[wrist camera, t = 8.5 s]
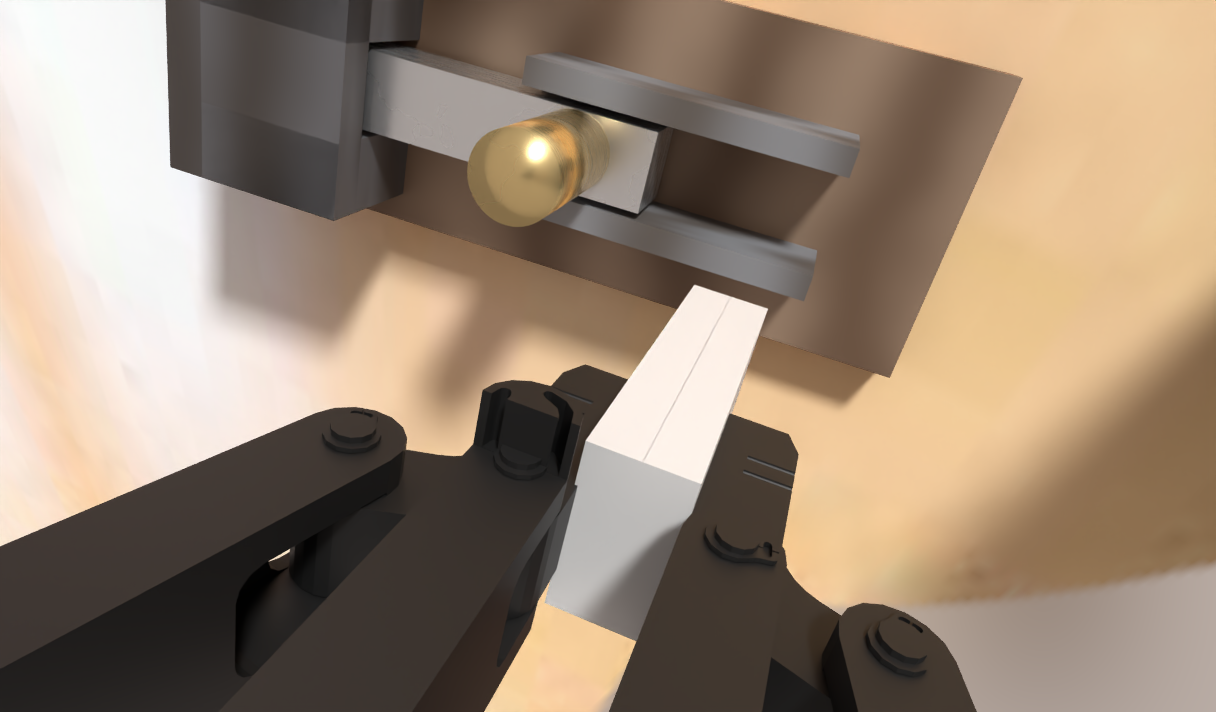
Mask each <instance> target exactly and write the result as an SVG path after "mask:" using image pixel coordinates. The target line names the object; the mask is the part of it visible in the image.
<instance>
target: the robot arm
mask: <svg viewBox="0 0 1216 712" xmlns="http://www.w3.org/2000/svg"><path fill="white" fill-rule="evenodd" d="M767 310H768V309H767V308H764V307H761V306H758V305H755V304H752V303H749V302H746V301H743V300H739V299H736V298H733V297H730V296H727V295H724V294H721V293H718V292H715V291H712V290H709V289H706V288H703V287H700V286H697V285H694V286H693V288H692V289H691V291H690V292H689V293H688V295H687V296H686V298H685V299H684V301H683V302H682V303H681V305H680V306H679V308H678V309H677V311H676V312H675V313H674V315H673V316H672V318H671V319H670V321H669V322H668V323H667V325H666V326H665V328H664V329H663V331H662V332H661V334H660V335H659V336H658V338H657V339H656V341H655V342H654V344H653V345H652V346H651V348H650V349H649V351H648V352H647V354H646V355H645V356H644V358H643V359H642V361H641V362H640V364H639V365H638V366H637V368H636V369H635V371H634V372H633V374H632V375H631V377H630V378H629V379H625V378H622V377H619V376H616V375H614V374H611V373H608V372H605V371H602V370H600V369H597V368H594V367H591V366H588V365H583V366H580V367H577V368H574V369H572V370H569V371H566V372H563V373H562V375H561V376H560V377H559V378H558V379H557V380H556V381H555V382H554V383H553V385H552V386H548V385H544V384H540V383H536V382H532V381H517V380H511V381H505V382H499V383H495V384H493V385H491V386H489V387H487V388H486V389H484V390H483V392H482V397H481V403H480V409H479V415H478V420H477V426H476V432H475V437H474V443H473V445H472V446H471V447H470V448H469V449H468V450H467V451H466V453H465V454H464V455H463V456H444V455H435V454H429V453H423V452H417V451H411V450H406V444H407V437H406V434H405V432H404V429H403V427H402V426H401V425H400V424H399V423H397V422H396V421H395V420H394V419H393V418H392V417H389V416H387V415H384V414H382V413H380V412H377V411H375V410H369V409H364V408H357V407H347V408H333V409H329V410H325V411H322V412H318V413H315V414H313V415H310V416H308V417H305V418H303V419H301V420H298V421H296V422H294V423H291V424H289V425H286V426H284V427H282V428H279V429H277V430H275V431H272V432H270V433H268V434H265V435H263V436H260V437H258V438H256V439H253V440H251V441H249V442H246V443H244V444H242V445H239V446H237V447H234V448H232V449H230V450H227V451H225V452H223V453H220V454H218V455H215V456H213V457H211V458H208V459H206V460H204V461H201V462H199V463H197V464H194V465H192V466H189V467H187V468H185V469H182V470H180V471H178V472H175V473H173V474H171V475H168V476H166V477H163V478H161V479H159V480H156V481H154V482H152V483H149V484H147V485H144V486H142V487H140V488H137V489H135V490H133V491H130V492H128V493H126V494H123V495H121V496H118V497H116V498H114V499H111V500H109V501H107V502H104V503H102V504H100V505H97V506H95V507H92V508H90V509H88V510H85V511H83V512H81V513H78V514H76V515H73V516H71V517H69V518H66V519H64V520H62V521H59V522H57V523H55V524H52V525H50V526H47V527H45V528H43V529H40V530H38V531H36V532H33V533H31V534H29V535H26V536H24V537H21V538H19V539H17V540H14V541H12V542H10V543H7V544H5V545H2V546H0V712H484V711H485V709H486V707H487V706H488V704H489V702H490V700H491V699H492V697H493V695H494V693H495V692H496V690H497V688H498V686H499V684H500V683H501V681H502V679H503V677H504V676H505V674H506V672H507V670H508V669H509V667H510V665H511V663H512V662H513V660H514V658H515V656H516V654H517V653H518V651H519V649H520V647H521V646H522V644H523V642H524V640H525V639H526V637H527V635H528V633H529V631H530V630H531V626H532V622H533V618H534V615H535V611H536V606H537V602H538V600H539V598H540V597H541V595H542V593H543V592H544V590H545V588H546V586H547V585H548V583H549V581H550V584H549V588H548V592H547V596H546V600H545V603H546V604H549V605H551V606H554V607H556V608H558V609H561V610H563V611H566V612H568V613H570V614H573V615H575V616H577V617H580V618H582V619H585V620H587V621H589V622H592V623H594V624H597V625H599V626H601V627H604V628H606V629H608V630H611V631H613V632H616V633H618V634H620V635H623V636H625V637H628V638H630V639H632V640H635V641H636V644H635V647H634V649H633V652H632V654H631V657H630V659H629V662H628V664H627V667H626V670H625V672H624V675H623V677H622V680H621V682H620V685H619V687H618V690H617V692H616V695H615V698H614V700H613V703H612V705H611V708H610V710H609V712H977V711H976V709H975V707H974V704H973V702H972V699H971V697H970V695H969V692H968V690H967V687H966V685H965V682H964V680H963V678H962V675H961V673H960V670H959V668H958V665H957V663H956V661H955V659H954V658H953V656H952V655H951V653H950V651H949V650H948V648H947V647H946V645H945V643H944V642H943V641H941V639H940V638H939V637H938V636H936V635H935V634H934V633H933V632H932V631H931V630H930V629H929V628H928V627H927V626H926V625H924V624H922V623H921V622H919V621H918V620H916V619H915V618H913V617H911V616H910V615H908V614H906V613H905V612H902V611H899V610H896V609H894V608H891V607H888V606H885V605H880V604H868V603H862V604H859V605H855V606H852V607H849V608H847V610H846V611H845V612H844V613H843V615H842V616H841V615H839V614H838V613H836V612H835V611H833V610H832V609H830V608H829V607H827V606H826V605H824V604H822V603H821V602H819V601H818V600H817V599H815V598H814V597H813V596H812V595H810V594H809V593H808V592H806V591H805V590H804V589H803V588H802V587H801V586H800V585H799V584H798V583H797V582H796V581H795V580H794V578H793V577H792V575H791V574H790V572H789V571H788V569H787V568H786V567H787V562H786V555H785V550H784V548H783V547H782V544H783V538H784V532H785V527H786V521H787V516H788V510H789V505H790V499H791V493H792V491H791V490H792V488H793V482H794V477H795V476H794V475H795V471H796V466H797V460H798V452H797V450H796V448H795V446H794V444H793V442H792V440H791V438H790V436H789V434H786V433H783V432H781V431H778V430H775V429H772V428H769V427H767V426H764V425H761V424H758V423H755V422H752V421H750V420H747V419H744V418H741V417H738V416H736V415H733V414H732V411H733V408H734V405H735V403H736V400H737V397H738V394H739V391H740V388H741V385H742V382H743V380H744V377H745V374H746V371H747V368H748V365H749V362H750V359H751V356H752V354H753V351H754V348H755V345H756V342H757V339H758V336H759V333H760V331H761V328H762V325H763V322H764V319H765V316H766V313H767ZM288 549H290V552H289V553H287V554H285V555H284V556H282V557H280V558H278V559H275V560H273V561H270V562H268V561H269V560H271V559H273V558H275V557H276V556H278V555H280V554H282V553H283V552H285V551H287V550H288Z"/></svg>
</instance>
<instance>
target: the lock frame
mask: <svg viewBox="0 0 1216 712" xmlns="http://www.w3.org/2000/svg"><path fill="white" fill-rule="evenodd" d="M166 30H167V64H168V98H169V132H170V166H171V167H172V168H175V169H178V170H181V171H184V172H187V173H190V174H193V175H196V176H199V177H202V178H205V179H208V180H211V181H214V182H217V183H220V184H224V185H227V186H230V187H233V188H236V189H239V190H242V191H245V192H248V193H251V194H254V195H257V196H260V197H263V198H266V199H269V200H272V201H275V202H278V203H281V204H284V205H287V206H290V207H293V208H296V209H299V210H302V211H305V212H308V213H312V214H315V215H318V216H321V217H324V218H327V219H330V220H333V221H335V220H337V219H340V218H342V217H345V216H347V215H350V214H353V213H355V212H358V211H360V210H363V209H365V208H367V209H370V210H374V211H377V212H380V213H383V214H386V215H389V216H392V217H395V218H398V219H401V220H404V221H407V222H411V223H414V224H417V225H420V226H423V227H426V228H429V229H432V230H435V231H438V232H441V233H444V234H448V235H451V236H454V237H457V238H460V239H463V240H466V241H469V242H472V243H475V244H478V245H481V246H485V247H488V248H491V249H494V250H497V251H500V252H503V253H506V254H509V255H512V256H515V257H518V258H522V259H525V260H528V261H531V262H534V263H537V264H540V265H543V266H546V267H549V268H552V269H555V270H559V271H562V272H565V273H568V274H571V275H574V276H577V277H580V278H583V279H586V280H589V281H592V282H596V283H599V284H602V285H605V286H608V287H611V288H614V289H617V290H620V291H623V292H626V293H629V294H633V295H636V296H639V297H642V298H645V299H648V300H651V301H654V302H657V303H660V304H663V305H667V306H670V307H673V308H676V309H678V308H679V306H680V305H681V303H682V302H683V301H684V299H685V298H686V296H687V295H688V293H689V292H690V291H691V289H692V288H693V286H694V285H697V286H700V287H703V288H706V289H709V290H712V291H715V292H718V293H721V294H724V295H727V296H730V297H733V298H736V299H739V300H743V301H746V302H749V303H752V304H755V305H758V306H761V307H764V308H767V309H768V310H767V313H766V316H765V319H764V322H763V325H762V328H761V331H760V333H759V336H762V337H765V338H768V339H771V340H774V341H778V342H781V343H784V344H787V345H790V346H793V347H796V348H799V349H802V350H805V351H808V352H811V353H815V354H818V355H821V356H824V357H827V358H830V359H833V360H836V361H839V362H842V363H845V364H848V365H852V366H855V367H858V368H861V369H864V370H867V371H870V372H873V373H876V374H879V375H882V376H885V377H889V378H890V376H891V374H892V371H893V369H894V367H895V365H896V362H897V360H898V358H899V356H900V353H901V351H902V349H903V347H904V344H905V342H906V340H907V338H908V335H909V333H910V331H911V329H912V326H913V324H914V322H915V320H916V317H917V315H918V313H919V311H920V308H921V306H922V304H923V302H924V299H925V297H926V295H927V293H928V290H929V288H930V286H931V284H932V281H933V279H934V277H935V275H936V272H937V270H938V268H939V266H940V263H941V261H942V259H943V257H944V254H945V252H946V250H947V248H948V245H949V243H950V241H951V239H952V236H953V234H954V232H955V230H956V227H957V225H958V223H959V221H960V218H961V216H962V214H963V212H964V209H965V207H966V205H967V203H968V200H969V198H970V196H971V193H972V191H973V189H974V187H975V184H976V182H977V180H978V178H979V175H980V173H981V171H982V169H983V166H984V164H985V162H986V160H987V157H988V155H989V153H990V151H991V148H992V146H993V144H994V142H995V139H996V137H997V135H998V133H999V130H1000V128H1001V126H1002V124H1003V121H1004V119H1005V117H1006V115H1007V112H1008V110H1009V108H1010V106H1011V103H1012V101H1013V99H1014V97H1015V94H1016V92H1017V90H1018V88H1019V85H1020V83H1021V81H1022V79H1023V78H1021V77H1019V76H1016V75H1013V74H1009V73H1005V72H1001V71H997V70H994V69H990V68H986V67H982V66H978V65H974V64H970V63H966V62H962V61H958V60H954V59H951V58H947V57H943V56H939V55H935V54H931V53H927V52H923V51H919V50H915V49H912V48H908V47H904V46H900V45H896V44H892V43H888V42H884V41H880V40H876V39H873V38H869V37H865V36H861V35H857V34H853V33H849V32H845V31H841V30H837V29H834V28H830V27H826V26H822V25H818V24H814V23H810V22H806V21H802V20H798V19H795V18H791V17H787V16H783V15H779V14H775V13H771V12H767V11H763V10H759V9H756V8H752V7H748V6H744V5H740V4H736V3H732V2H728V1H724V0H166ZM387 41H390V42H394V43H397V44H401V45H404V46H408V47H411V48H415V49H418V50H422V51H425V52H429V53H432V54H436V55H439V56H443V57H446V58H450V59H453V60H457V61H461V62H464V63H468V64H471V65H475V66H478V67H482V68H485V69H489V70H492V71H496V72H499V73H503V74H506V75H510V76H513V77H517V78H520V79H522V85H525V86H529V87H532V88H536V89H539V90H543V91H546V92H549V93H553V94H556V95H560V96H563V97H567V98H570V99H574V100H577V101H581V102H584V103H588V104H591V105H595V106H598V107H602V108H605V109H609V110H612V111H616V112H619V113H623V114H626V115H630V116H633V117H637V118H640V119H644V120H647V121H651V122H654V123H658V124H661V125H665V126H668V127H672V128H674V130H673V134H672V137H671V141H670V145H669V149H668V153H667V157H666V161H665V165H664V168H663V172H662V176H661V180H660V184H659V188H658V192H657V196H656V198H655V199H654V200H653V201H651V202H650V203H649V204H648V205H647V206H646V207H645V208H644V209H643V210H642V211H640V212H639V213H638V214H637V213H634V212H630V211H627V210H624V209H620V208H617V207H614V206H611V205H607V204H604V203H601V202H598V201H594V200H591V199H588V198H585V197H581V196H577V197H576V198H574V199H573V200H571V201H569V202H568V203H566V204H565V205H563V206H562V207H560V208H559V209H557V210H555V211H554V212H552V213H551V214H549V215H548V216H546V217H545V218H543V219H541V220H540V221H538V222H536V223H534V224H532V225H529V226H524V227H512V226H507V225H503V224H501V223H498V222H497V221H495V220H493V219H492V218H490V217H489V216H488V215H487V214H485V213H484V212H483V211H482V209H481V208H480V207H479V206H478V204H477V203H476V201H475V200H474V198H473V196H472V193H471V191H470V188H469V184H468V178H467V167H468V162H467V161H464V160H461V159H457V158H454V157H451V156H448V155H444V154H441V153H438V152H435V151H431V150H428V149H425V148H422V147H418V146H415V145H412V144H409V143H405V142H402V141H399V140H395V139H392V138H389V137H386V136H382V135H379V134H376V133H373V132H369V131H366V130H363V129H362V124H363V112H364V99H365V87H366V75H367V62H368V50H369V42H387Z"/></svg>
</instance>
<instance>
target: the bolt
mask: <svg viewBox="0 0 1216 712" xmlns="http://www.w3.org/2000/svg"><path fill="white" fill-rule="evenodd" d="M362 129H363V130H366V131H369V132H373V133H376V134H379V135H382V136H386V137H389V138H392V139H395V140H399V141H402V142H405V143H409V144H412V145H415V146H418V147H422V148H425V149H428V150H431V151H435V152H438V153H441V154H444V155H448V156H451V157H454V158H457V159H461V160H464V161H467V162H468V167H467V178H468V184H469V188H470V191H471V193H472V196H473V198H474V200H475V201H476V203H477V204H478V206H479V207H480V208H481V209H482V211H483V212H484V213H485V214H487V215H488V216H489V217H490V218H492V219H493V220H495V221H497V222H498V223H501V224H503V225H507V226H512V227H524V226H529V225H532V224H534V223H536V222H538V221H540V220H541V219H543V218H545V217H546V216H548V215H549V214H551V213H552V212H554V211H555V210H557V209H559V208H560V207H562V206H563V205H565V204H566V203H568V202H569V201H571V200H573V199H574V198H576V197H577V196H581V197H585V198H588V199H591V200H594V201H598V202H601V203H604V204H607V205H611V206H614V207H617V208H620V209H624V210H627V211H630V212H634V213H637V214H638V213H639V212H640V211H642V210H643V209H644V208H645V207H646V206H647V205H648V204H649V203H650V202H651V201H653V200H654V199H655V198H656V196H657V192H658V188H659V184H660V180H661V176H662V172H663V168H664V165H665V161H666V157H667V153H668V149H669V145H670V141H671V137H672V134H673V130H674V128H672V127H668V126H665V125H661V124H658V123H654V122H651V121H647V120H644V119H640V118H637V117H633V116H630V115H626V114H623V113H619V112H616V111H612V110H609V109H605V108H602V107H598V106H595V105H591V104H588V103H584V102H581V101H577V100H574V99H570V98H567V97H563V96H560V95H556V94H553V93H549V92H546V91H543V90H539V89H536V88H532V87H529V86H525V85H522V79H520V78H517V77H513V76H510V75H506V74H503V73H499V72H496V71H492V70H489V69H485V68H482V67H478V66H475V65H471V64H468V63H464V62H461V61H457V60H453V59H450V58H446V57H443V56H439V55H436V54H432V53H429V52H425V51H422V50H418V49H415V48H411V47H408V46H404V45H401V44H397V43H394V42H390V41H387V42H369V50H368V62H367V75H366V87H365V99H364V112H363V124H362Z"/></svg>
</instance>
